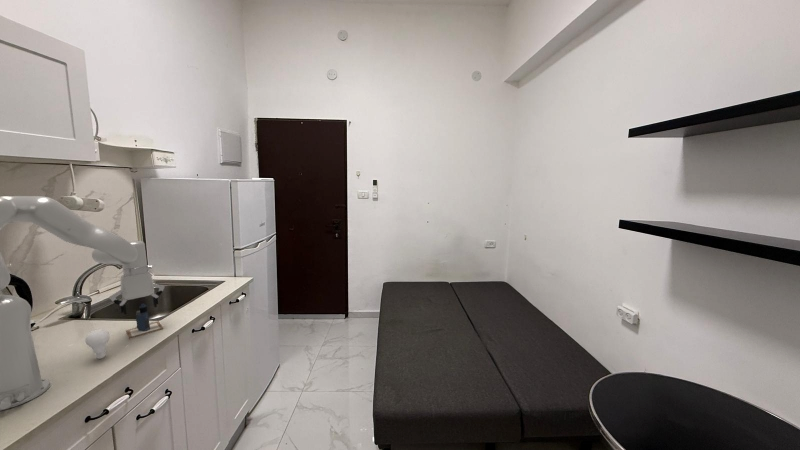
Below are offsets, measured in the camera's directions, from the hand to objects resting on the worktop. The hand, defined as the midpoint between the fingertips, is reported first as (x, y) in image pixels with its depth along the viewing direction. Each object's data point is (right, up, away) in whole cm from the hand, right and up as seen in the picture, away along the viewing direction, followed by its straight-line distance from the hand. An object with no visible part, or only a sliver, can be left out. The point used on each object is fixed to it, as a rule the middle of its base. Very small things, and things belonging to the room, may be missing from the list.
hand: (140, 310), depth 123 cm
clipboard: (0, -10, +3) cm, 10 cm away
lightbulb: (+1, -13, -17) cm, 21 cm away
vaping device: (0, -9, +2) cm, 9 cm away
